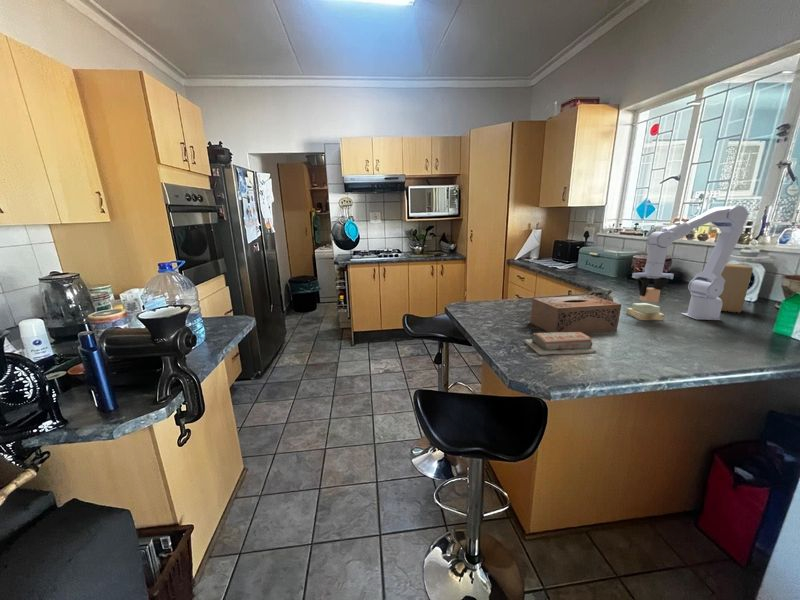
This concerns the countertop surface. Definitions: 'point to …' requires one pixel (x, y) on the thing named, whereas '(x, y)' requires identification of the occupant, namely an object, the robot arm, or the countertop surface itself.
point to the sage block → (645, 308)
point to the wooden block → (735, 286)
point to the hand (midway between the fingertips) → (648, 295)
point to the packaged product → (560, 343)
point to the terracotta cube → (651, 295)
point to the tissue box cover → (575, 314)
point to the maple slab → (644, 315)
